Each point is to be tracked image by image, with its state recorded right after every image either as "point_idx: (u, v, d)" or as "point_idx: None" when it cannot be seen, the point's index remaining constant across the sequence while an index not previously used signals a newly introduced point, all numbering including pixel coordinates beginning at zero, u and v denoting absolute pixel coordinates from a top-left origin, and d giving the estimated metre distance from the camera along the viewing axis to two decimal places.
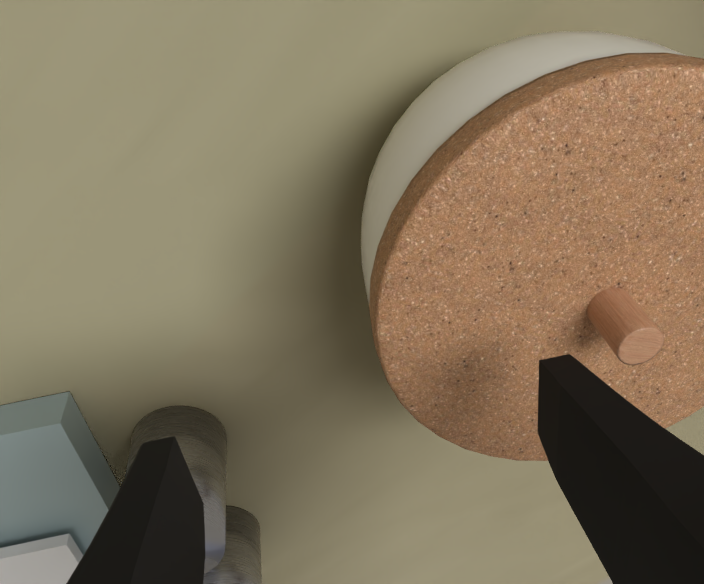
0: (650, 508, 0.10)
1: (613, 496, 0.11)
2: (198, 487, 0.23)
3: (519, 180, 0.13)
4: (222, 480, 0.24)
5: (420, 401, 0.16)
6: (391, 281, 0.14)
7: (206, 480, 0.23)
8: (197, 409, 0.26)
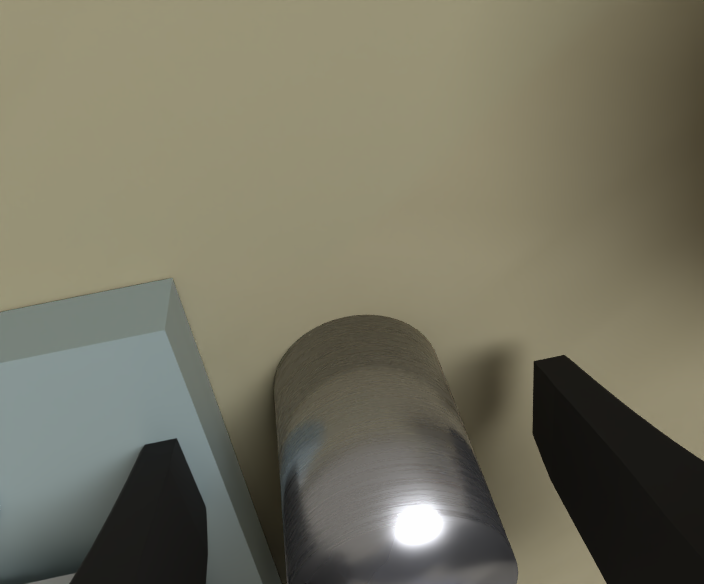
0: (643, 510, 0.10)
1: (607, 497, 0.11)
2: (457, 463, 0.11)
3: None
4: None
5: None
6: None
7: (462, 450, 0.11)
8: (400, 323, 0.14)
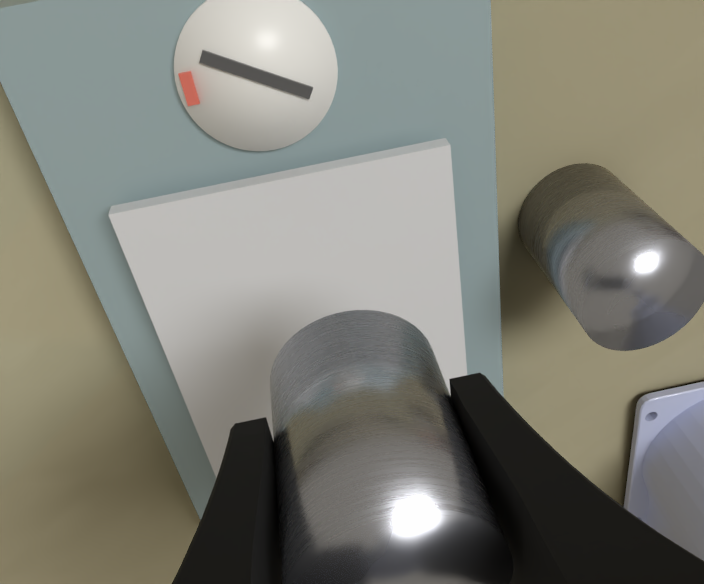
0: (531, 534, 0.10)
1: (507, 519, 0.11)
2: (455, 458, 0.11)
3: None
4: None
5: None
6: None
7: (460, 445, 0.11)
8: (398, 318, 0.14)
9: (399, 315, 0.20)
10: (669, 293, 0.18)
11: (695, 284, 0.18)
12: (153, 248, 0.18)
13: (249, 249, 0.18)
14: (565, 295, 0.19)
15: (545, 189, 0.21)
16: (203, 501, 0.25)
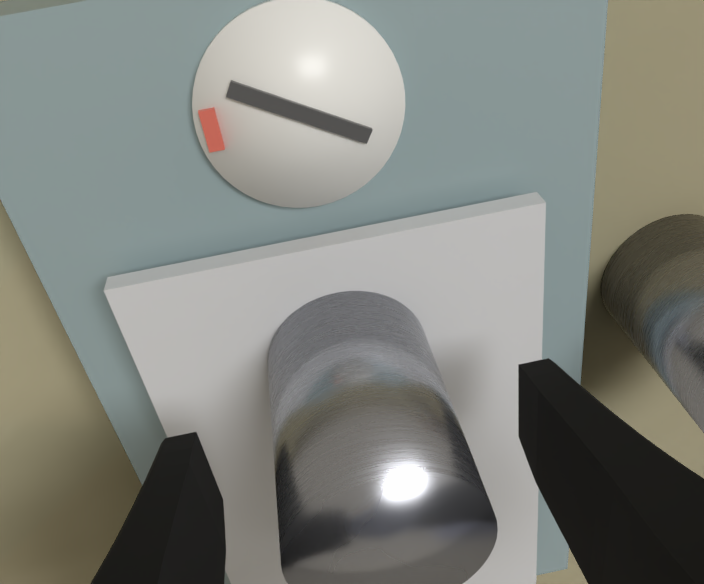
0: (623, 514, 0.10)
1: (589, 501, 0.11)
2: (443, 427, 0.11)
3: None
4: (458, 421, 0.13)
5: None
6: None
7: (448, 416, 0.12)
8: (390, 299, 0.14)
9: (464, 403, 0.16)
10: None
11: None
12: (161, 330, 0.14)
13: None
14: (677, 386, 0.15)
15: (641, 246, 0.17)
16: None
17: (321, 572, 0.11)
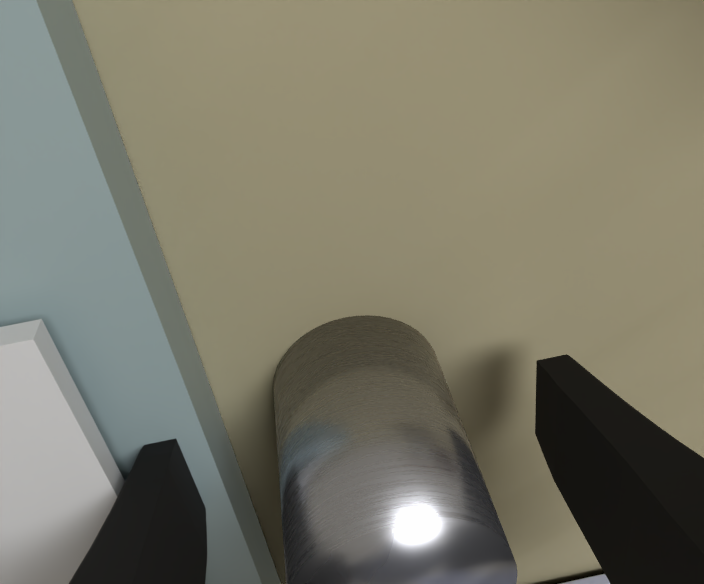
0: (647, 509, 0.10)
1: (611, 497, 0.11)
2: None
3: None
4: None
5: None
6: None
7: None
8: None
9: (42, 573, 0.12)
10: None
11: (491, 574, 0.10)
12: None
13: None
14: None
15: (296, 359, 0.13)
16: None
17: None
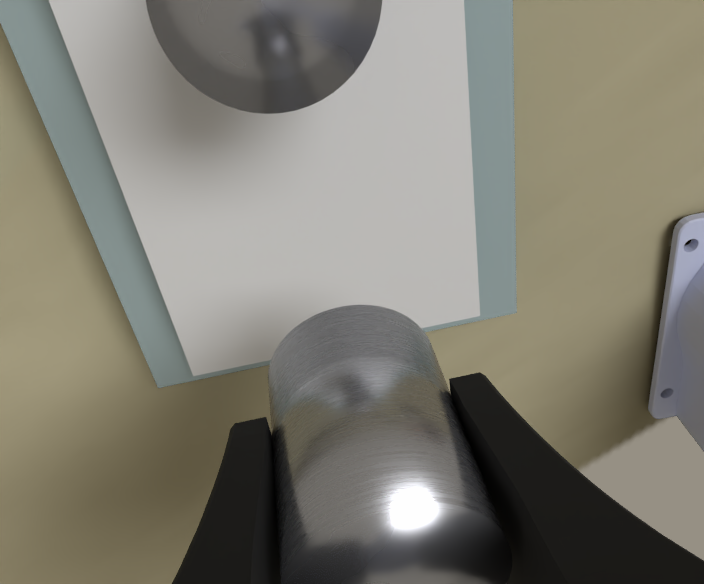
0: (531, 534, 0.10)
1: (507, 519, 0.11)
2: None
3: None
4: None
5: None
6: None
7: None
8: None
9: (383, 33, 0.16)
10: (442, 577, 0.10)
11: (486, 565, 0.10)
12: None
13: None
14: None
15: (296, 344, 0.13)
16: (146, 327, 0.21)
17: (190, 20, 0.10)
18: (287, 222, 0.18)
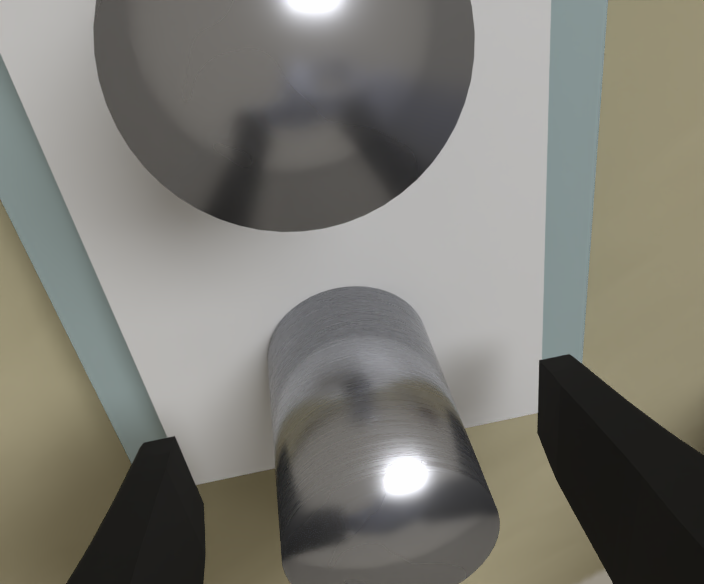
0: (650, 508, 0.10)
1: (614, 497, 0.11)
2: None
3: None
4: None
5: None
6: None
7: None
8: None
9: None
10: (433, 538, 0.11)
11: (475, 527, 0.11)
12: None
13: None
14: None
15: (294, 324, 0.14)
16: (130, 426, 0.17)
17: (167, 97, 0.06)
18: None
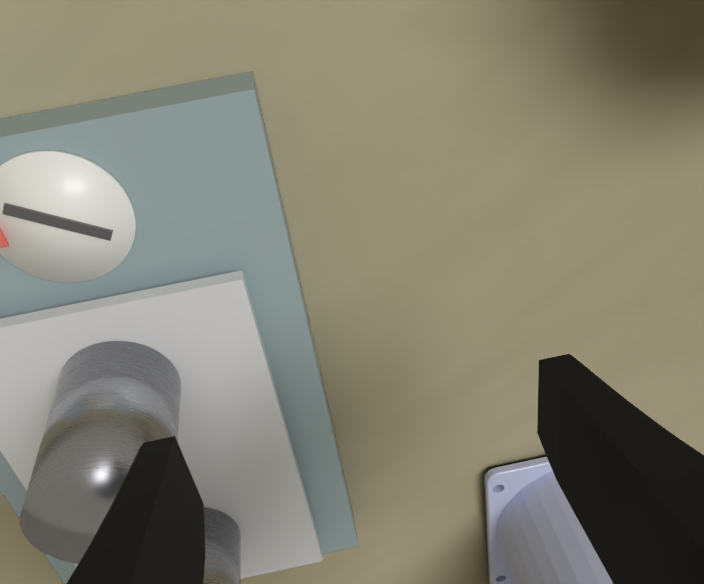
0: (650, 508, 0.10)
1: (613, 496, 0.11)
2: None
3: None
4: None
5: None
6: None
7: (157, 436, 0.18)
8: (151, 349, 0.20)
9: (220, 417, 0.22)
10: None
11: None
12: None
13: None
14: None
15: None
16: (67, 571, 0.27)
17: (49, 532, 0.17)
18: None
